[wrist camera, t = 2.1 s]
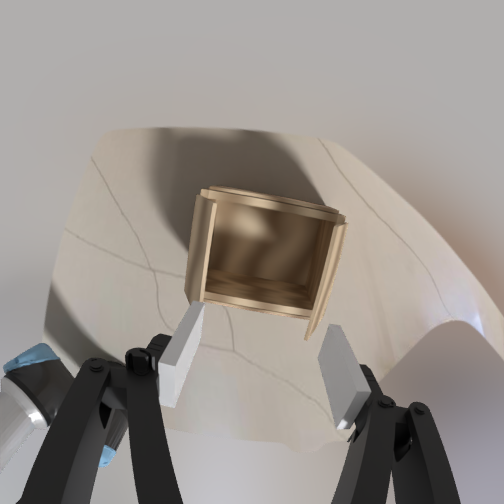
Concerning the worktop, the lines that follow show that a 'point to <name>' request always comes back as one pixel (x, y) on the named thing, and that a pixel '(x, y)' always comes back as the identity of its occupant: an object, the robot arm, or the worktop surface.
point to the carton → (267, 251)
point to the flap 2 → (327, 277)
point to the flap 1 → (199, 248)
